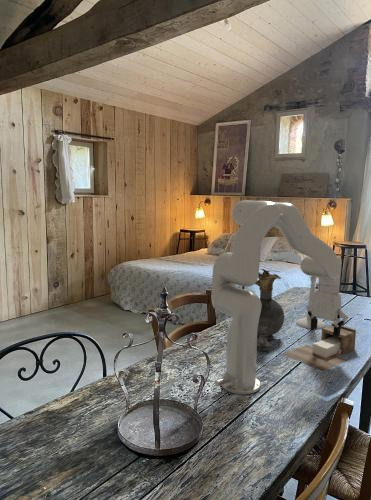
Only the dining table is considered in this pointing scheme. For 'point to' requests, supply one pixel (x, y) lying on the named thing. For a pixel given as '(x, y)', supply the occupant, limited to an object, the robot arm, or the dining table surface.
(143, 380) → the dining table surface
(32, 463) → the dining table surface
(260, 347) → the salt shaker
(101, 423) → the dining table surface
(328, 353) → the soap bar
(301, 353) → the open wooden box
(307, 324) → the candlestick
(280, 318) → the pitcher
